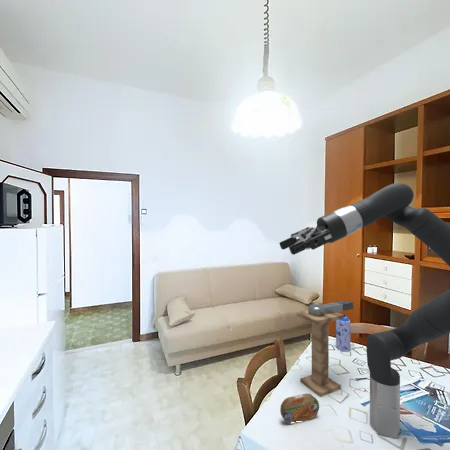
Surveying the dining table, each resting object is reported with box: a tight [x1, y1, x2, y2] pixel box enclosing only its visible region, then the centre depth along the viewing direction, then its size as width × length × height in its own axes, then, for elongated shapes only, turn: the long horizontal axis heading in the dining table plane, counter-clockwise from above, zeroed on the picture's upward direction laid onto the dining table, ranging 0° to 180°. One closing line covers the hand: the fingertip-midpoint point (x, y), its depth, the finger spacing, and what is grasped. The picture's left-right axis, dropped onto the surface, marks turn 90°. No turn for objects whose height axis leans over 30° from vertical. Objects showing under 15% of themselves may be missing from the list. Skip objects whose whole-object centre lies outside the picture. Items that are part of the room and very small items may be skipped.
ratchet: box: [307, 299, 354, 317], centre depth 123 cm, size 24×6×5 cm, turn 117°
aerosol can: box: [335, 313, 352, 353], centre depth 155 cm, size 8×8×20 cm
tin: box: [279, 392, 320, 425], centre depth 99 cm, size 15×3×8 cm, turn 106°
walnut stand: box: [296, 309, 344, 398], centre depth 120 cm, size 16×12×32 cm
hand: (285, 248), depth 72 cm, fingers open, 8 cm apart
